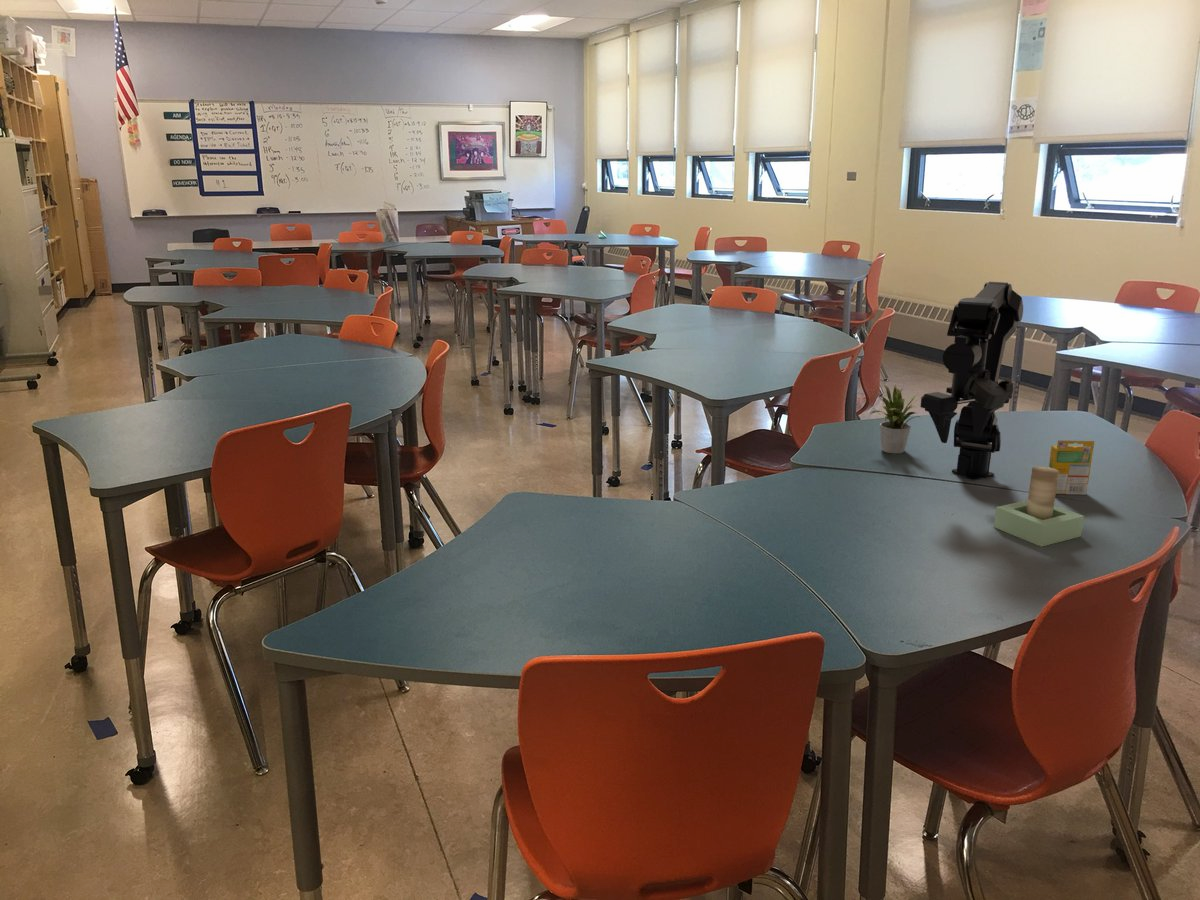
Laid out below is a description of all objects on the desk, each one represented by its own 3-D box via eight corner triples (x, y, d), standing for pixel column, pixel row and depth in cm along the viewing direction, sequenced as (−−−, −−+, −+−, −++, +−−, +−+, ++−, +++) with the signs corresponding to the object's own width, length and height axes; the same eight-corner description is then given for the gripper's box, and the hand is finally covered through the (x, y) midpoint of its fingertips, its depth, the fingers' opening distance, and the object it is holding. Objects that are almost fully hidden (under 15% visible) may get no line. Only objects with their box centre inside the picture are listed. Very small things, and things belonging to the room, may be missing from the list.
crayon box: (1081, 490, 189) (1089, 437, 185) (1086, 495, 186) (1095, 441, 182) (1044, 489, 189) (1052, 436, 186) (1049, 494, 187) (1058, 440, 183)
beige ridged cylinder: (1025, 525, 170) (1033, 465, 167) (1051, 530, 168) (1060, 468, 164) (1021, 533, 167) (1030, 471, 163) (1048, 538, 164) (1057, 475, 161)
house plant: (846, 443, 222) (851, 378, 217) (894, 438, 226) (900, 374, 221) (880, 460, 209) (886, 391, 204) (931, 454, 213) (938, 387, 208)
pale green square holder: (1032, 517, 174) (1035, 498, 173) (1080, 536, 165) (1084, 516, 164) (993, 527, 170) (996, 507, 168) (1041, 546, 161) (1044, 525, 160)
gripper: (967, 376, 167) (958, 456, 172) (1037, 366, 175) (1026, 443, 180) (922, 365, 177) (914, 442, 181) (990, 356, 185) (981, 430, 189)
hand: (960, 439), depth 183 cm, fingers open, 9 cm apart
